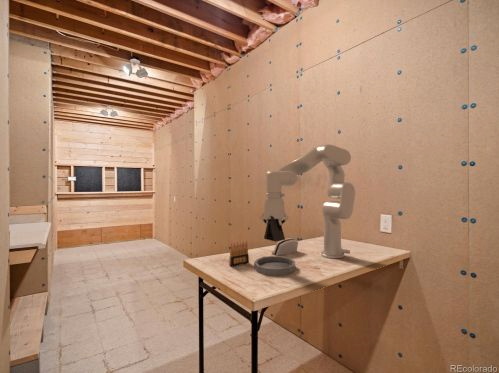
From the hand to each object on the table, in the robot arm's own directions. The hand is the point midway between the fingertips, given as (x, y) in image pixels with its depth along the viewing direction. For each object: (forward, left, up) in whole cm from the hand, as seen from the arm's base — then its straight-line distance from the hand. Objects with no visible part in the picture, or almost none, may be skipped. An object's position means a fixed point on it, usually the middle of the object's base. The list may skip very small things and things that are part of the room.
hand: (274, 232), depth 127 cm
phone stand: (0, 0, -4) cm, 4 cm away
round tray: (0, 0, -18) cm, 18 cm away
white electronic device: (-3, -27, -18) cm, 33 cm away
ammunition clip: (+19, -2, -18) cm, 26 cm away
